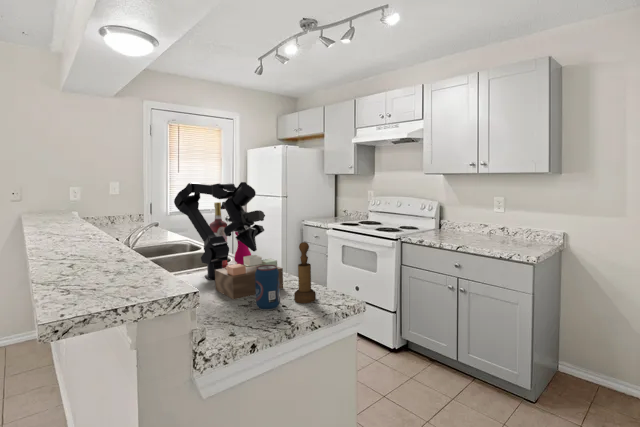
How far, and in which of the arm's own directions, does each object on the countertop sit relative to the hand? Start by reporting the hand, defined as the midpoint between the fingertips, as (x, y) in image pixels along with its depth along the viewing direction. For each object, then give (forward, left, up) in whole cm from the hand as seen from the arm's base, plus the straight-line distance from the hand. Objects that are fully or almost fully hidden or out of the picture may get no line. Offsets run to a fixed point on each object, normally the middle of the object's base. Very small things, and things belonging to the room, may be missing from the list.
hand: (255, 250), depth 129 cm
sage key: (+4, +3, -5) cm, 7 cm away
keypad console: (+1, -3, -13) cm, 13 cm away
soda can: (+21, -8, -13) cm, 26 cm away
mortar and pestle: (+23, +4, -13) cm, 27 cm away
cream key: (+4, -3, -3) cm, 6 cm away
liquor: (-36, +2, -13) cm, 38 cm away
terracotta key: (+4, -9, -5) cm, 12 cm away
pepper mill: (-28, +9, -13) cm, 32 cm away
